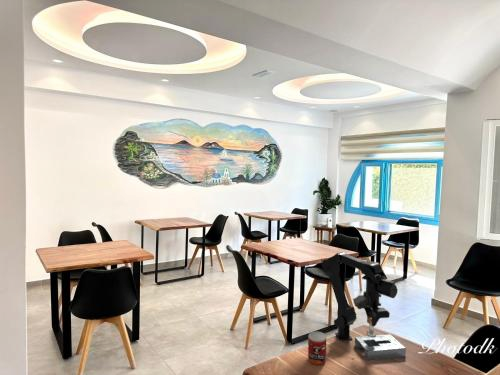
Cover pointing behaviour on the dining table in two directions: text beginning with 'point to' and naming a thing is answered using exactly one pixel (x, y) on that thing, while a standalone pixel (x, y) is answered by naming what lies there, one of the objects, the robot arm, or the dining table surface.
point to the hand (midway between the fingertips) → (371, 324)
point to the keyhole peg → (370, 327)
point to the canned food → (317, 348)
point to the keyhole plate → (380, 347)
